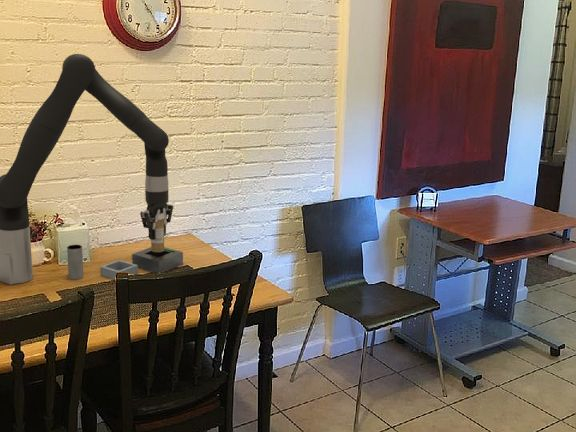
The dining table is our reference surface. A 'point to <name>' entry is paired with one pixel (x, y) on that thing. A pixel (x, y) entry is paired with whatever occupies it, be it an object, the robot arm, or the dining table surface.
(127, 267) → the blue-grey square tray
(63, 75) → the robot arm
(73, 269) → the gray cylinder
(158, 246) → the sprinkles bottle
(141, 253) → the port block
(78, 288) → the dining table surface
